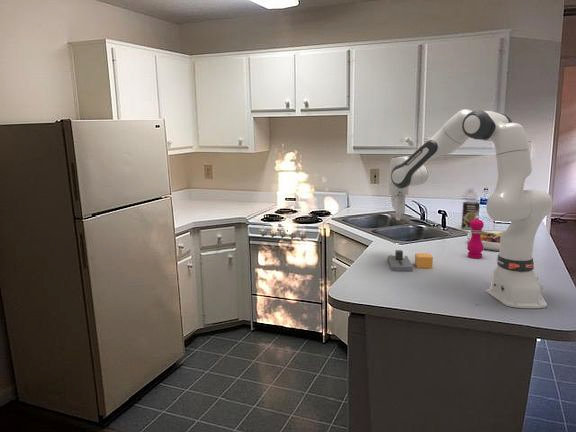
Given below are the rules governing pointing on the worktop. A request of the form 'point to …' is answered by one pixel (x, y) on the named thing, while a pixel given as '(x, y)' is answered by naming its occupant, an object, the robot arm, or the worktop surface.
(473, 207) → the coffee box
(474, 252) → the pepper mill
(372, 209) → the worktop surface
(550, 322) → the worktop surface
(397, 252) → the handle
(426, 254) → the orange block
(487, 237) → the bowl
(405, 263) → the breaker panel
